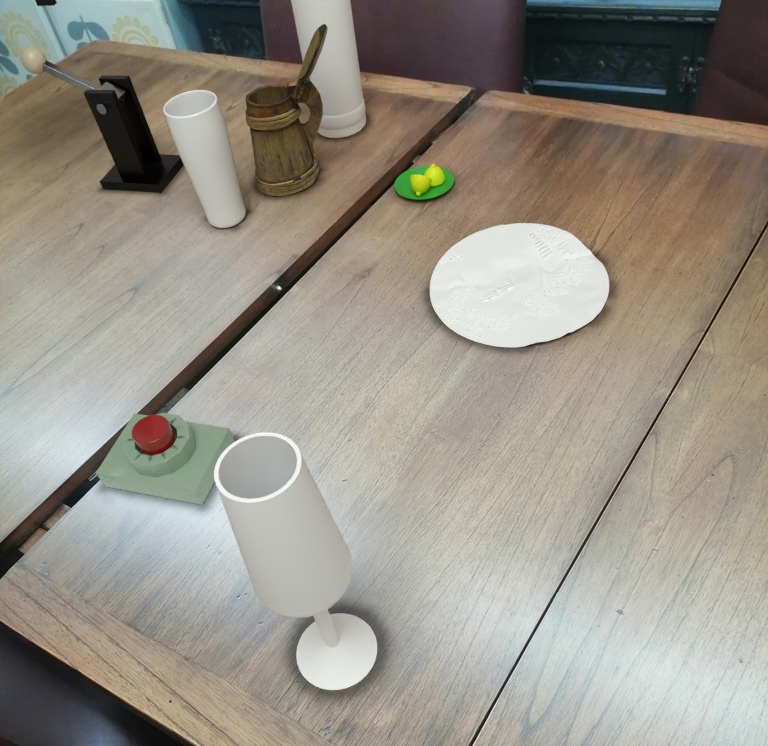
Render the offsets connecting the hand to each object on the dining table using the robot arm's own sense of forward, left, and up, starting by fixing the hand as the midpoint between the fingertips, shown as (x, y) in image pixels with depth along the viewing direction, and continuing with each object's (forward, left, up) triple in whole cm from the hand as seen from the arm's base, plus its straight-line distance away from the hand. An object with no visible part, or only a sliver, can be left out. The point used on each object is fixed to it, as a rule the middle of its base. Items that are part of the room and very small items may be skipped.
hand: (19, 27), depth 90 cm
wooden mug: (+35, +2, -20) cm, 40 cm away
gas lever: (+4, 0, -8) cm, 9 cm away
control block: (+40, -50, -20) cm, 67 cm away
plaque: (+69, -18, -20) cm, 74 cm away
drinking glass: (+28, -9, -20) cm, 35 cm away
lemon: (+53, +1, -20) cm, 56 cm away
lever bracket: (+10, 0, -20) cm, 22 cm away
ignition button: (+40, -50, -16) cm, 66 cm away
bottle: (+36, +16, -20) cm, 44 cm away
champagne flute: (+63, -65, -20) cm, 93 cm away
